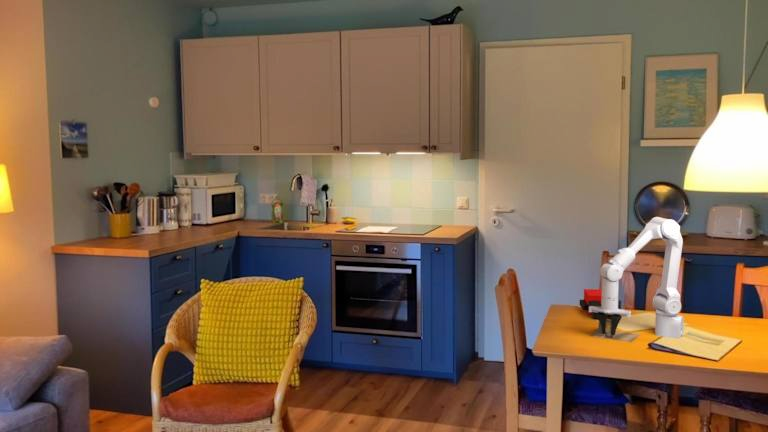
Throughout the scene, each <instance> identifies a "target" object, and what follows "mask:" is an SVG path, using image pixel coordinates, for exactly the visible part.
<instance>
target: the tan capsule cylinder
mask: <svg viewBox="0 0 768 432" xmlns="http://www.w3.org/2000/svg"><path fill="white" fill-rule="evenodd" d="M611 332H612V321H611V319H607V320H606V321H605V338H604V339H607V338H613V335H612V334H611Z"/></svg>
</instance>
